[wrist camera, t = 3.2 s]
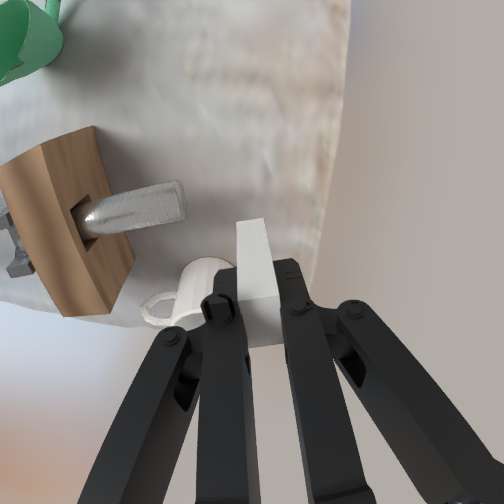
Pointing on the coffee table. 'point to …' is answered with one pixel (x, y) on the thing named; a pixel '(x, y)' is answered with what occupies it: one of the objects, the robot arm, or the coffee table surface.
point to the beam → (66, 222)
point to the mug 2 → (187, 295)
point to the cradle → (22, 260)
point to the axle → (129, 211)
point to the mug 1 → (28, 37)
